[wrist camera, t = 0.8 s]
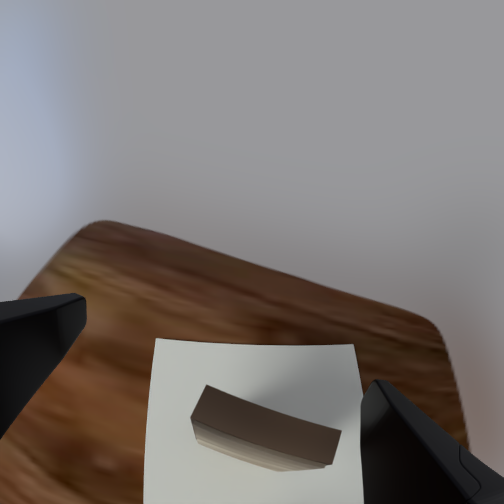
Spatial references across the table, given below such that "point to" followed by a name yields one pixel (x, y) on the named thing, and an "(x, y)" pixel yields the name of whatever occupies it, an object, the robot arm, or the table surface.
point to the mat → (261, 393)
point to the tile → (261, 434)
